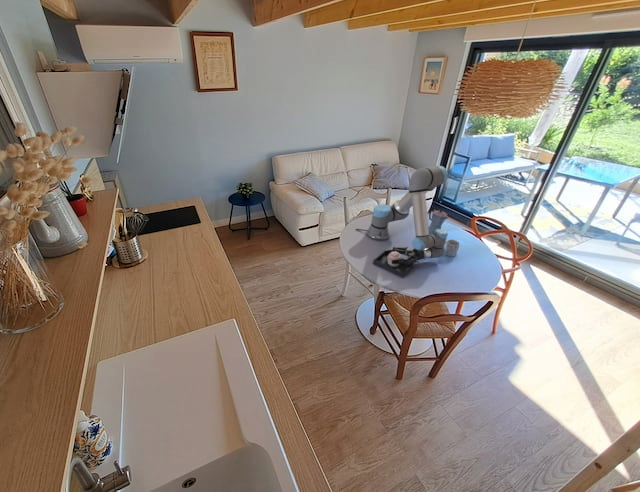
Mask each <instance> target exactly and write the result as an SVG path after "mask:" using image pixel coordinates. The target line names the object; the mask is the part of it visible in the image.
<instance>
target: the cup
mask: <svg viewBox="0 0 640 492" xmlns="http://www.w3.org/2000/svg"><path fill="white" fill-rule="evenodd" d="M460 245H461V244H460V242H459V241H458V240H454V239H448V240H446V241H445V244H444V247H445V248H446V255H445V256H448V257H452V258H453V257H455V256H456V255H457V254H458V250H459V248H460Z"/></svg>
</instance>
